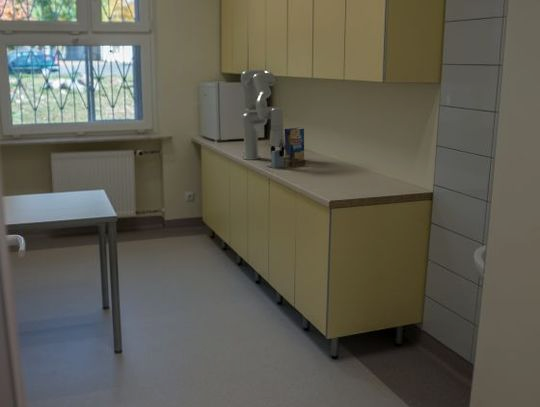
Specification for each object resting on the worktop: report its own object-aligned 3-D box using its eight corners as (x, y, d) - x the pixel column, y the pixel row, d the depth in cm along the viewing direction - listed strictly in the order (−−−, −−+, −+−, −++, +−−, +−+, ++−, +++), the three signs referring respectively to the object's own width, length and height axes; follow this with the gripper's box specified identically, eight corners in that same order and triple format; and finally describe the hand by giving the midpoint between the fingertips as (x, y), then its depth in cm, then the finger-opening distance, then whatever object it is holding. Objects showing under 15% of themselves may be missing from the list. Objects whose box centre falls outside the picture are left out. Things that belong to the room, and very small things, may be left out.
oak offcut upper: (280, 160, 390) (280, 157, 390) (284, 159, 395) (284, 156, 395) (286, 161, 388) (286, 158, 388) (290, 159, 393) (290, 156, 393)
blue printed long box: (304, 161, 402) (304, 128, 396) (290, 163, 396) (290, 129, 391) (298, 160, 407) (298, 127, 402) (285, 161, 401) (284, 128, 396)
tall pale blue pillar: (271, 166, 379) (271, 151, 377) (280, 165, 383) (280, 150, 380) (274, 167, 376) (274, 151, 374) (283, 166, 380) (283, 150, 378)
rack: (276, 163, 391) (276, 158, 390) (290, 162, 397) (290, 156, 396) (290, 167, 378) (290, 162, 377) (305, 165, 384) (305, 160, 383)
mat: (267, 166, 382) (267, 166, 382) (278, 165, 387) (278, 164, 387) (277, 169, 372) (277, 168, 372) (288, 167, 377) (288, 167, 377)
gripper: (264, 127, 379) (264, 154, 383) (279, 129, 365) (280, 157, 369) (274, 126, 383) (274, 152, 387) (289, 128, 369) (290, 156, 373)
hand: (277, 155), depth 378 cm, fingers open, 9 cm apart
